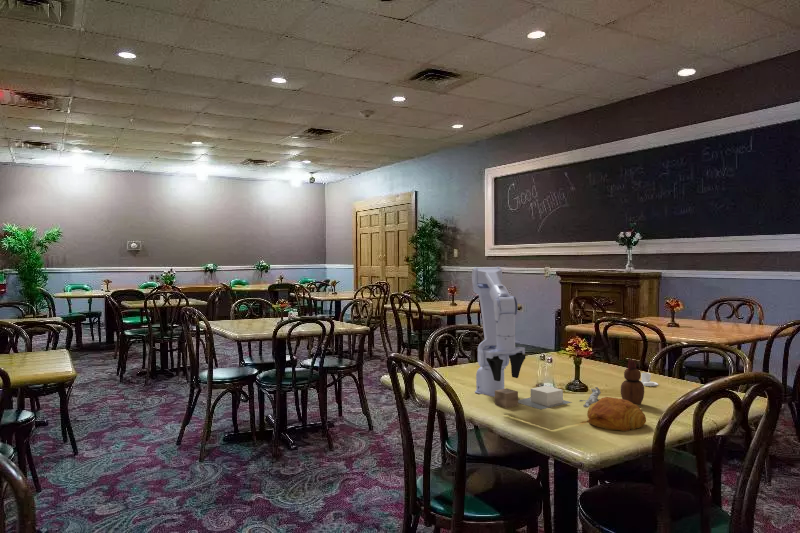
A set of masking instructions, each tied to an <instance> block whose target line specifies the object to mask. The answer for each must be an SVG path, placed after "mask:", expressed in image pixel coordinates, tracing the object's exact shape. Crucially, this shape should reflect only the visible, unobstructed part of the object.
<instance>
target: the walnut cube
mask: <svg viewBox="0 0 800 533" xmlns="http://www.w3.org/2000/svg"><path fill="white" fill-rule="evenodd" d="M518 400H519V391H518V390H513V389H511V388H504V389H501V390H495V396H494V405H496V406H498V407H503V408H505V409H507V408H512V407H516V406H517V407H518V406H519V403H518Z"/></svg>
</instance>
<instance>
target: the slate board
mask: <svg viewBox="0 0 800 533" xmlns="http://www.w3.org/2000/svg"><path fill="white" fill-rule="evenodd" d="M571 403H573V402H572V401H568V400H564V399H563V403H559V404H554V405H550V406H546V405H542V404H538V403H535V402H531V396H530V397H526V398H519V399H518V404H521V405H524V406H526V407H530V408H534V409H537V410H541V411H542V410H546V409H549V408H555V407H559V406H562V405H567V404H571Z"/></svg>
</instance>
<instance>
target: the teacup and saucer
mask: <svg viewBox="0 0 800 533" xmlns="http://www.w3.org/2000/svg"><path fill="white" fill-rule="evenodd" d="M640 373H641V377H640V378H641V380H640V381H641V382H642V383H643V385H644V387H657V386H659V383H658V382H656V381H651V376H652V374H651V373H650V372H640Z"/></svg>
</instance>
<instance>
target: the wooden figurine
mask: <svg viewBox="0 0 800 533" xmlns="http://www.w3.org/2000/svg"><path fill="white" fill-rule="evenodd" d="M627 358H628V360H627V368H626V369H625V370H624V371H623V377H624V379H625V380H623V381H622V382H621V385H620V395H621V396H620V397H621V399H624V400H628V401H630V402H632V403H633V404H635V405H637V406H639V405H641V404H642V402H643V401H644V400H643V399H644V397H645V386H644V384H643V383H642V382H641V381H642V380H640V379H641V378H642V377H641V373H642V372H641V371H640V369H639V368H637V364H636V362H635V361H634V360H633V357H631V358H630V356H628V357H627Z"/></svg>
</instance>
